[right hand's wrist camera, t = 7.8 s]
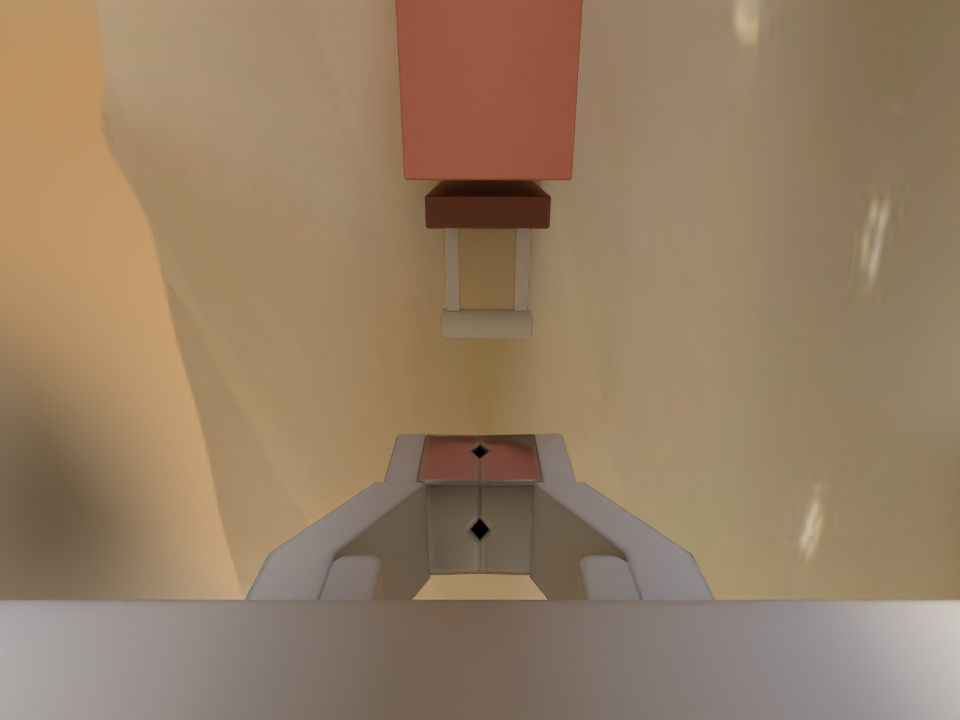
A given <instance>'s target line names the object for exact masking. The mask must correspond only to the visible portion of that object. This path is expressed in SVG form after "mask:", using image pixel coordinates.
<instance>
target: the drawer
mask: <svg viewBox="0 0 960 720" xmlns="http://www.w3.org/2000/svg"><path fill="white" fill-rule="evenodd" d="M550 204H551V197H550V196H549V195H548V194H547V193H546V192H545V191H543V190H542V189H541V188H540V187H539V186H537V185H536V184H535V183H534V182H533V181H441V182H440V183H439V184H438V185H437V186H436V187H435V188H434V189H433V190H432V191H430V192H429V193H428V194H427V195H426V196H425V215H426V227H427V228H444V235H445V278H446V309H443V310H442V321H441V326H442V337H443V339H531V336H532V311H531V309H528V282H529V252H530V229H547V228H549V225H550ZM459 228H508V229H515V265H514V309H460V254H459Z"/></svg>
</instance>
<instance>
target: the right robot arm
mask: <svg viewBox="0 0 960 720" xmlns="http://www.w3.org/2000/svg"><path fill="white" fill-rule="evenodd" d="M449 574H510V575H530V578H531V579H532V580H533V582H534V583H535V584H536V585H537V586H538V588H539V589H540V590H541V591H542V593H543V594H544V595H545V596H546V597H547V599H548V600H412V599H413V598H414V597H415V595H416V594H417V593H418V592H419V591H420V589H421V588H422V587H423V586H424V585H425V583H426V582H427V581H428V580H429V578H430V575H449ZM0 720H960V600H715V598H714V596H713V595H712V593H711V591H710V589H709V587H708V585H707V583H706V581H705V579H704V577H703V575H702V573H701V571H700V569H699V567H698V565H697V563H696V561H695V559H694V557H693V556H692V554H691V553H690V552H688V551H687V550H685V549H684V548H682V547H681V546H679V545H678V544H676V543H675V542H673V541H671V540H670V539H668V538H667V537H665V536H664V535H662V534H661V533H659V532H658V531H656V530H655V529H653V528H652V527H650V526H649V525H647V524H646V523H644V522H643V521H641V520H640V519H638V518H637V517H635V516H634V515H632V514H631V513H629V512H628V511H626V510H625V509H623V508H622V507H620V506H619V505H617V504H616V503H614V502H613V501H611V500H610V499H608V498H607V497H605V496H604V495H602V494H601V493H599V492H598V491H596V490H595V489H593V488H592V487H590V486H589V485H587V484H586V483H584V482H576V479H575V476H574V473H573V469H572V466H571V462H570V459H569V455H568V452H567V448H566V445H565V441H564V438H563V435H561V434H539V435H534V434H523V435H481V436H480V435H439V434H427V435H425V434H399V435H398V436H397V437H396V441H395V444H394V448H393V451H392V455H391V458H390V462H389V465H388V469H387V472H386V476H385V479H384V482H376V483H374V484H373V485H371V486H370V487H368V488H367V489H365V490H364V491H362V492H361V493H359V494H358V495H356V496H355V497H353V498H352V499H350V500H349V501H347V502H346V503H344V504H343V505H341V506H340V507H338V508H336V509H335V510H333V511H332V512H330V513H329V514H327V515H326V516H324V517H323V518H321V519H320V520H318V521H317V522H315V523H314V524H312V525H311V526H309V527H308V528H306V529H305V530H303V531H302V532H300V533H299V534H297V535H296V536H294V537H293V538H291V539H290V540H288V541H287V542H285V543H284V544H282V545H281V546H279V547H278V548H276V549H275V550H273V551H271V552H270V553H269V554H268V556H267V558H266V560H265V562H264V564H263V566H262V568H261V570H260V572H259V573H258V575H257V577H256V579H255V581H254V583H253V585H252V587H251V589H250V591H249V593H248V595H247V597H246V598H245V600H0Z"/></svg>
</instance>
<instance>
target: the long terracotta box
mask: <svg viewBox="0 0 960 720" xmlns="http://www.w3.org/2000/svg"><path fill="white" fill-rule="evenodd" d="M396 16H397V37H398V57H399V78H400V98H401V119H402V140H403V160H404V178H405V179H406V180H571V178H572V168H573V151H574V134H575V117H576V101H577V84H578V67H579V50H580V34H581V17H582V0H396Z"/></svg>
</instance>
